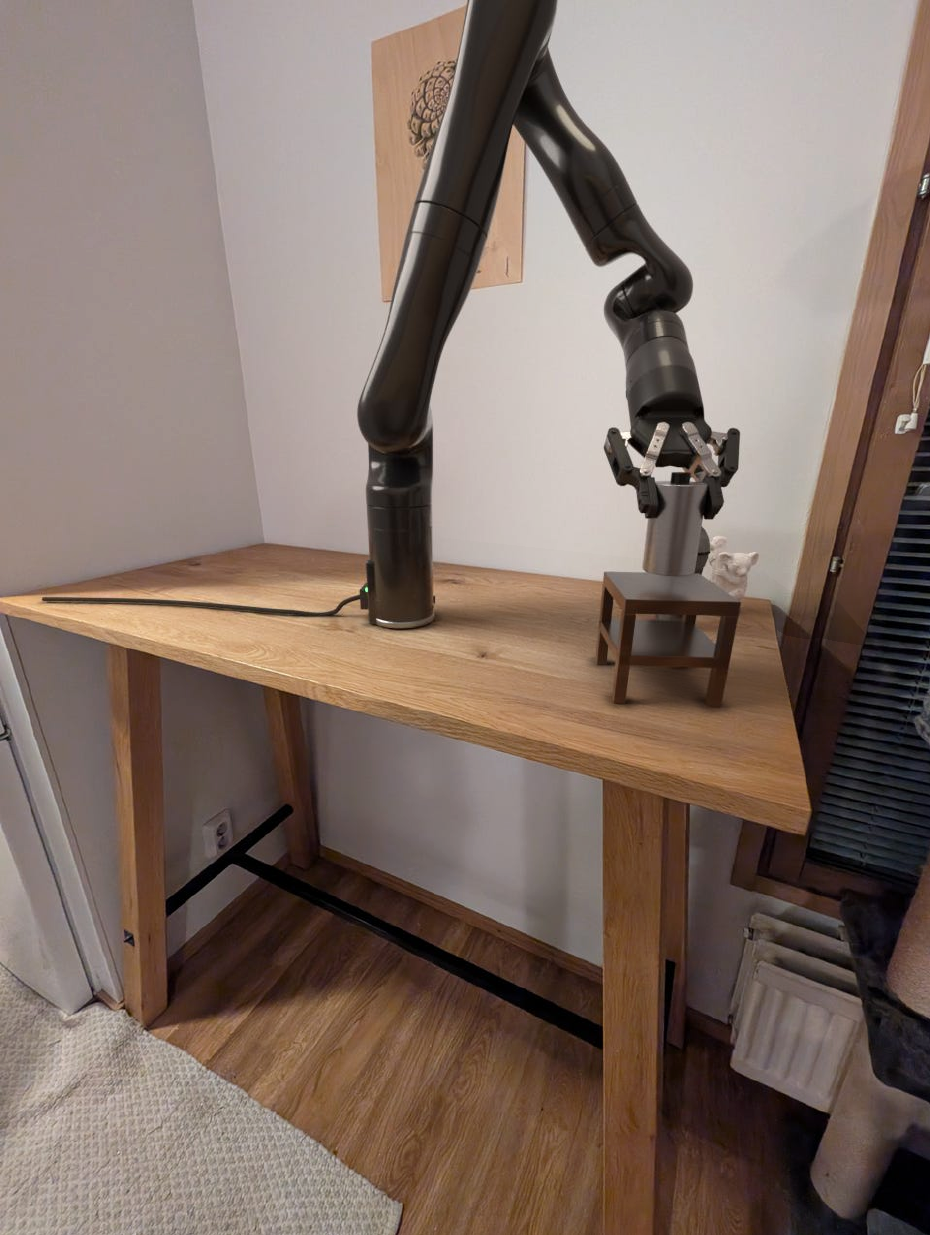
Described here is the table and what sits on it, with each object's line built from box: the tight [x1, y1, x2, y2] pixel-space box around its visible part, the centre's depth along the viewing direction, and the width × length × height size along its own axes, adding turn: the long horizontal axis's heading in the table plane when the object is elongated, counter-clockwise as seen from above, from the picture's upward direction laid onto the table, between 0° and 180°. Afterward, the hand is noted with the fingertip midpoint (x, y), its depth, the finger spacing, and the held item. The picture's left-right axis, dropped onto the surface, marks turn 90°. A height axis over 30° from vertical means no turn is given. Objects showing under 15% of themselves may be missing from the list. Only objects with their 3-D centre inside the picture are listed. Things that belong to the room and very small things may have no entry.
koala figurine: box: [708, 534, 760, 601], centre depth 81 cm, size 8×7×12 cm
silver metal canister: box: [641, 471, 708, 576], centre depth 53 cm, size 5×5×10 cm
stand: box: [594, 571, 742, 708], centre depth 57 cm, size 11×11×12 cm
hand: (682, 513), depth 51 cm, fingers closed on silver metal canister, 5 cm apart
